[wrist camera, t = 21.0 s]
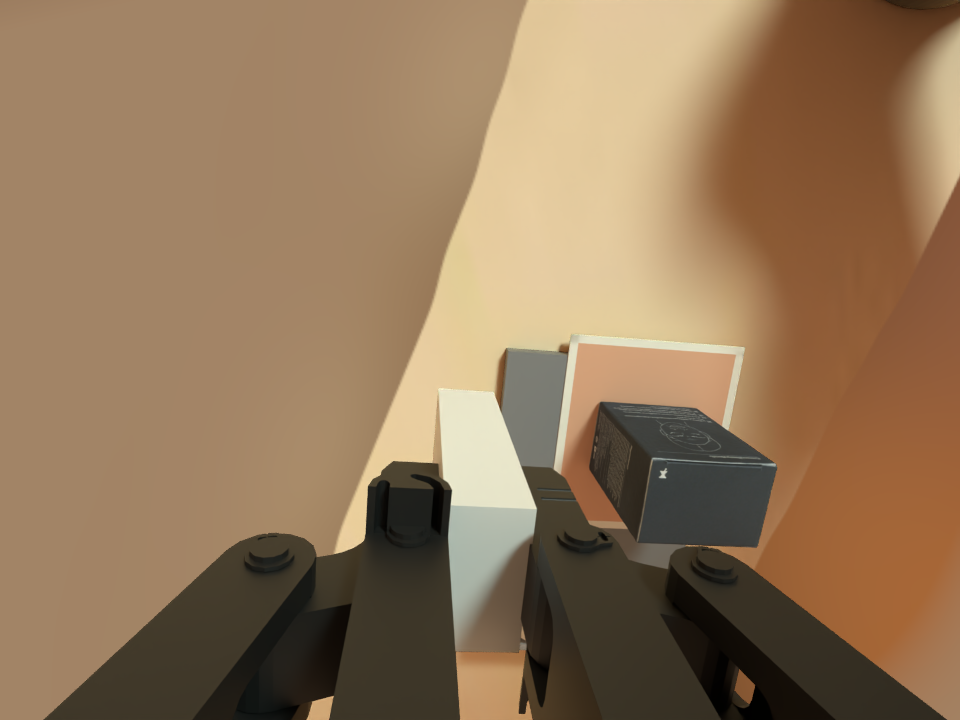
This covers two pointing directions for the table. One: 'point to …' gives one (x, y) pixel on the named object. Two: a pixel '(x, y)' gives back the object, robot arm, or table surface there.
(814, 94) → the table surface
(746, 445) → the box
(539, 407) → the grey board
